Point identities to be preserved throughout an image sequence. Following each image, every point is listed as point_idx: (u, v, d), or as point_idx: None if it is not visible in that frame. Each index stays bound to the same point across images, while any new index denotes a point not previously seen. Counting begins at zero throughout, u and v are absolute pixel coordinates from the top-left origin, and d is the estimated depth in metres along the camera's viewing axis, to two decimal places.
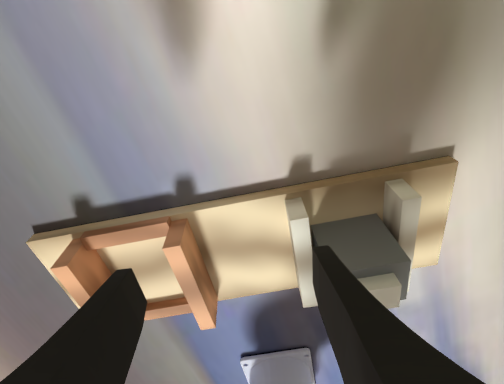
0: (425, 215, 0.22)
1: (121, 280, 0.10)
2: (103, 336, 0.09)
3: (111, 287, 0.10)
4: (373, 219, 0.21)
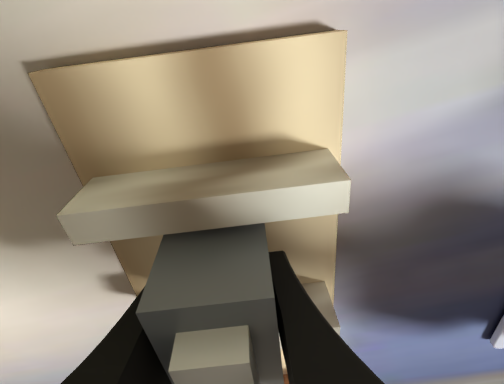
0: (176, 110, 0.10)
1: None
2: None
3: None
4: None
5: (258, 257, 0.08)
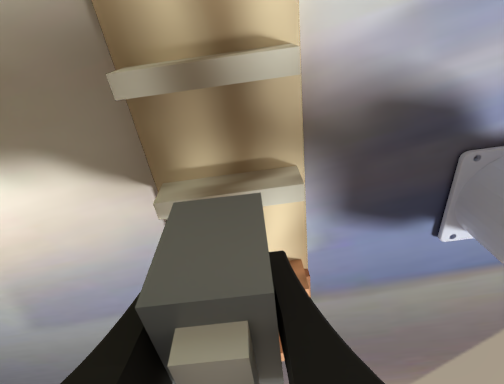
0: (183, 11, 0.14)
1: None
2: None
3: None
4: None
5: (258, 253, 0.08)
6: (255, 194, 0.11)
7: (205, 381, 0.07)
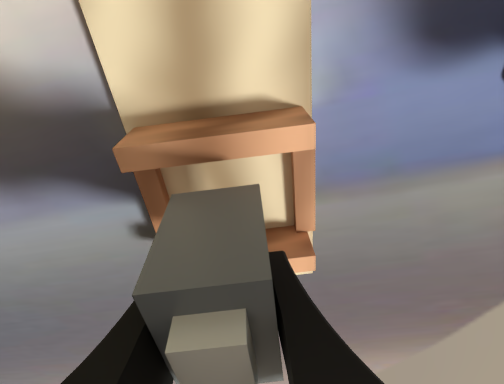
0: None
1: None
2: None
3: None
4: None
5: (256, 242, 0.08)
6: (254, 186, 0.11)
7: (203, 369, 0.07)
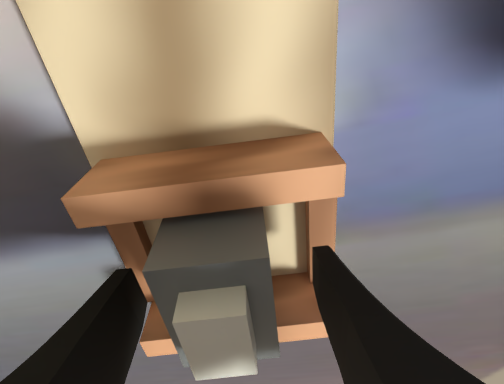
0: None
1: (121, 280, 0.10)
2: (103, 336, 0.09)
3: (111, 287, 0.10)
4: None
5: (255, 226, 0.09)
6: None
7: (206, 339, 0.08)
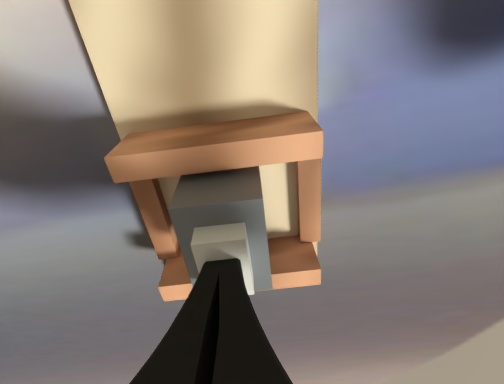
0: None
1: (218, 269, 0.10)
2: (214, 324, 0.09)
3: (212, 275, 0.10)
4: None
5: (253, 180, 0.12)
6: None
7: None
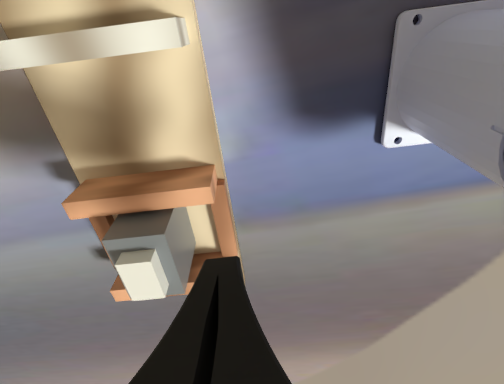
0: None
1: (218, 269, 0.10)
2: (214, 324, 0.09)
3: (211, 276, 0.10)
4: None
5: (164, 219, 0.17)
6: None
7: (133, 275, 0.16)
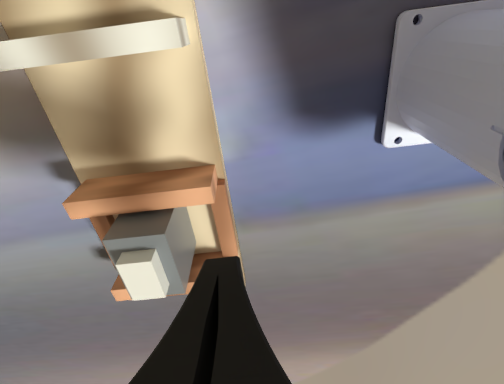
0: None
1: (218, 269, 0.10)
2: (214, 324, 0.09)
3: (211, 275, 0.10)
4: None
5: (165, 218, 0.17)
6: None
7: (134, 274, 0.16)
